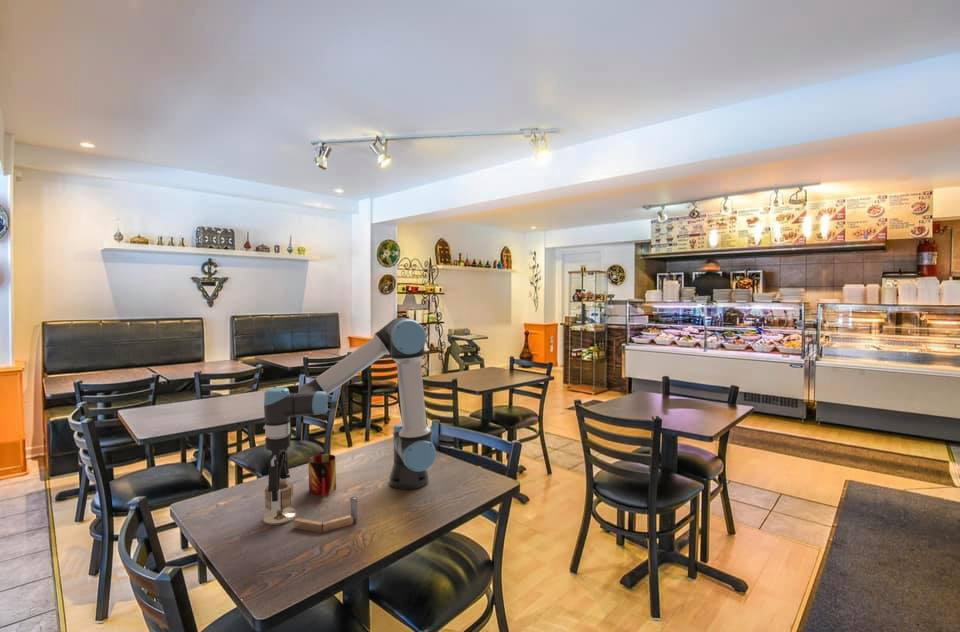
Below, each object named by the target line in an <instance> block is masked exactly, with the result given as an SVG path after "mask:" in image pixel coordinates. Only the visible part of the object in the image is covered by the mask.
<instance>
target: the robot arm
mask: <svg viewBox="0 0 960 632" xmlns="http://www.w3.org/2000/svg"><path fill="white" fill-rule="evenodd" d="M426 341H427V333H426V330H425V328H424V327H423V326H422V325H421V323H419V321H417V320H415V319H413V318H408V317H402V316H401V317H398V318H397V317H396V318H394V319H392V320H391V321H389V322H388V323H387V324H386V325H384V326H383V327H381V328H380V329H379V330H378V331H377V332H375V333H374V334H373V337H372V338H371V339H370V340H368V341H367V342H366V343H364V344H362V345H361V346H360V347H357V348H356V349H355V350H354V351H352V352H351V353H349V354H348V355H347V356H345V357H344V358H342V359H340V360H339V361H338V362H337V363H336V364H334V365H332V366H331V367H330V368H328V369H327V370H325V371H324V372H322V373H321V374H320V375H318V376H317V377H315V378H314V379H312V380H311V381H310V382H306V383H303V385H301V386H300V387H299V389H298V391H297V393H296V392H295V393H292V392H291V393H290V390H289V388H288V387H285V386H284V387H280V386H279V387H271V388H269V389H267V390H265V391H264V396H263V397H264V399H263V400H264V401H263V402H264V403H263V410H264V411H263V412H264V426H263V430H265V433H264V435H265V439H264V440H265V447H264V448H265V449H266V450H267V451H270V452H271V454H270V457H269V459H268V461H267V463H268V485H267V486H268V492H271V510H270V511H275V510H281V499H280V489H279V484H280V482H288V479H289V478H291V474H289V473H290V472H289V471H290V469H289V457H288V448H290V447H291V435H290V434H291V417H303V416H317V415H323V414H327V412H328V410H329V409H328V407H329V405H328V404H329V402H328V401H329V399H328V395H330V394H331V393H333V392H334V391H336V390H337V389H338V388H339V387H341V386H342V385H344V384H346V383H347V382H348V381H349V380H351V379H352V378H354V377H355V376H357V375H358V374H360V373H361V372H362V371H364V370H365V369H367V368H368V367H369V366H371V365H372V364H374V363H375V362H377V361H378V360H379V359H381V358H382V357H383V356H385V355H387V356H388V355H391V359H392V360H393V361H394V362H395V364H396V371H397V383H398V391H399V403H400V413H401V423H397V424H395V425H394V426H393V431H392V435H393V441H392V442H393V465H392V468H391V472H390V475H389V480H388V481H389V486H390V487H392V488H394V489H397V490H406V491H407V490H417V489H420V488H422V487H425V486H426V485H427V484H428V483H429V480H430V479H429V478H430V477H429V471H428V469H429V468H430V467H431V466H433V464H434V462H435V461H436V459H437V450H436V447H435V444H433V436H432V435H433V434H432V428H431V427H430V426H428V425H427V416H426V406H425V404H426V403H425V393H424V381H423V371H422V359H423V358H424V357H425V344H426Z"/></svg>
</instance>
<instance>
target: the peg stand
mask: <svg viewBox="0 0 960 632" xmlns="http://www.w3.org/2000/svg"><path fill="white" fill-rule="evenodd" d="M296 518H297V510H296V508H293V507H291V506H290V507H288V508H285V509H283V510H282V509H281V510H275V511H271V510H269V511H267V512H266V513H264V515H263V518H262V520H263V524H265V525H268V526H281V525H285V524H288V523H290V522H292V521H294V520H295V519H296Z"/></svg>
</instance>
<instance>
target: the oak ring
mask: <svg viewBox="0 0 960 632" xmlns="http://www.w3.org/2000/svg"><path fill="white" fill-rule="evenodd" d="M279 489H280V499H281V509H282V510H283V509H285V508H288V507H290V508H291V507H292V505H293V503H294V484H293V483H292V482H289V481H287V482H280V484H279ZM264 499H265V500H264V503H265V504H264V505H265V509H267V510H269V511H271V492H268V485H267V486H266V487H265V489H264Z"/></svg>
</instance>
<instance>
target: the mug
mask: <svg viewBox="0 0 960 632" xmlns="http://www.w3.org/2000/svg"><path fill="white" fill-rule="evenodd" d="M336 465H337V463H336V456H335V455H334V454H329V453H323V454H315V455H314V456H310V457H309V458H308V492H309V494H310V495H312V496H322V498H323V499H324V498H326V495H329V494H332V493H334V492H335V491H336V490H337V469H336V468H337V467H336Z"/></svg>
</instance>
